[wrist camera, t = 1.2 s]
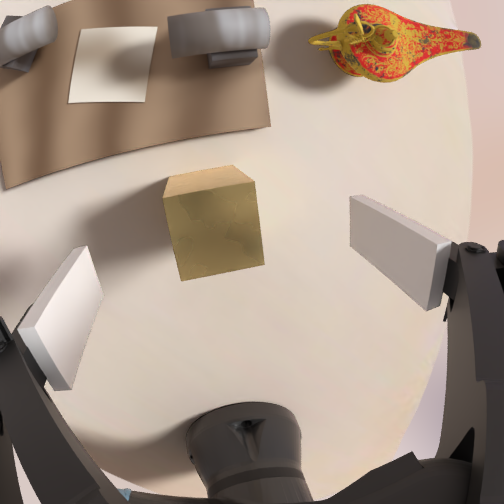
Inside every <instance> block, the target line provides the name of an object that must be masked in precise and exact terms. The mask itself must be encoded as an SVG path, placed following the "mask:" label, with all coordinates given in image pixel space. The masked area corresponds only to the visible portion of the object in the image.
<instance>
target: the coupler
mask: <svg viewBox="0 0 504 504" xmlns="http://www.w3.org/2000/svg"><path fill="white" fill-rule="evenodd" d="M162 199H163V204H164V209H165V214H166V219H167V223H168V228H169V232H170V237H171V241H172V245H173V250H174V254H175V258H176V262H177V267H178V271H179V275H180V279H181V281H186V280H191V279H196V278H201V277H206V276H211V275H216V274H221V273H226V272H231V271H236V270H241V269H246V268H251V267H255V266H260V265H265V264H264V255H263V247H262V238H261V230H260V222H259V214H258V205H257V197H256V189H255V181H253V180H252V179H251V178H249V177H248V176H247V175H245V174H244V173H243V172H241V171H240V170H239V169H237V168H236V167H235V166H233V165H230V166H224V167H218V168H212V169H206V170H201V171H195V172H190V173H185V174H180V175H175V176H170V177H169V179H168V182H167V185H166V188H165V191H164V194H163V197H162Z"/></svg>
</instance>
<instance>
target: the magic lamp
mask: <svg viewBox="0 0 504 504" xmlns="http://www.w3.org/2000/svg"><path fill="white" fill-rule="evenodd" d="M326 37H330V38H329V41H317V40H320V39H323V38H326ZM308 42H309V44H312V45H325V46H329V47H328V48H324V47H322V48H324V49H322V48H319V49H318V50H319V51H322V50H329V51H330V54H331V57H332V59H333V60H334V62H335V64H336V65H337V66H338V67H339V68H340V69H341V70H343V71H344V72H346V73H347V74H350V75H352V76H357V77H362V76H364V77H366V78H368V79H370V80H373V81H377V82H393V81H396V80H398V79H400V78H402V77H404V76H405V75H406V74H408V73H409V72H410V71H411V70H412V69H414V68H415V67H416V66H418V65H420V64H421V63H423V62H425V61H427V60H429V59H432V58H434V57H437V56H440V55H444V54H448V53H453V52H458V51H464V50H474V49H479V48H480V47H481V41H480V39H479V37H478V36H477V35H476V34H474V33H472V32H467V31H460V30H453V29H446V28H440V27H434V26H429V25H425V24H422V23H418V22H415V21H412V20H410V19H407V18H404V17H402V16H400V15H398V14H396V13H394V12H392V11H390V10H387V9H385V8H383V7H380V6H376V5H371V4H362V5H357V6H354V7H352V8H350V9H349V10H347V11H346V12H345V13H344V14H343V16H342V17H341V19H340V21H339V23H338V28H336V29H335V30H333V31H329V32H326V33H322V34H319V35H316V36H314V37H311V38H310V39H309V40H308Z"/></svg>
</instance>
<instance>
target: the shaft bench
mask: <svg viewBox="0 0 504 504" xmlns="http://www.w3.org/2000/svg"><path fill="white" fill-rule="evenodd" d="M269 41H270V21H269V16H268V13H267V11H266V9H265V8H255V7H254V1H253V0H71V1H69V2H66V3H63V4H61V5H58V6H56V7H53V8H51V7H50V6H45V7H43V8H40V9H38V10H36V11H34V12H32V13H30V14H27V15H25V16H6V18H5V20H4V22H3V24H2V26H1V28H0V162H1V167H2V172H3V177H4V181H5V186H6V189H8V188H11V187H13V186H16V185H19V184H21V183H24V182H27V181H30V180H32V179H35V178H38V177H41V176H44V175H47V174H50V173H53V172H56V171H59V170H62V169H66V168H69V167H72V166H75V165H79V164H82V163H86V162H89V161H93V160H96V159H100V158H104V157H107V156H111V155H115V154H119V153H123V152H127V151H131V150H135V149H140V148H144V147H149V146H153V145H158V144H163V143H168V142H173V141H178V140H183V139H188V138H194V137H200V136H206V135H212V134H218V133H225V132H231V131H239V130H246V129H254V128H263V127H271V123H270V115H269V107H268V99H267V91H266V84H265V76H264V69H263V61H262V54H261V49H265V48H267V47H268V45H269Z"/></svg>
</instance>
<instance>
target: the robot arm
mask: <svg viewBox="0 0 504 504" xmlns="http://www.w3.org/2000/svg"><path fill="white" fill-rule="evenodd" d="M350 246H351V247H352V248H353V249H354V250H355V251H357V252H358V253H359V254H360V255H361V256H363V257H364V258H365V259H366V260H368V261H369V262H370V263H371V264H372V265H374V266H375V267H376V268H377V269H378V270H379V271H381V272H382V273H383V274H384V275H385V276H386V277H388V278H389V279H390V280H391V281H392V282H393V283H395V284H396V285H397V286H398V287H399V288H400V289H402V290H403V291H404V292H405V293H406V294H407V295H408V296H409V297H411V298H412V299H413V300H414V301H415V302H416V303H417V304H418V305H420V306H421V307H422V308H423V309H424V310H425V311H428V310H431V309H433V308H436V307H438V306H440V304H441V299H442V295H443V292H444V293H445V294H446V295H448V296H449V299H448V303H447V308H446V312H445V316H444V319H443V321H444V322H446V319H447V320H448V356H447V357H448V358H447V381H446V394H445V405H444V415H443V423H442V431H441V438H440V444H439V448H438V451H437V454H436V456H435V458H430V459H424V460H417V458H416V456H415V455H414V453H413V452H410V453H408V454H406V455H404V456H402V457H400V458H398V459H396V460H394V461H391V462H389V463H387V464H385V465H383V466H380V467H378V468H376V469H374V470H371V471H370V472H368V473H367V474H365V475H364V476H363V477H361V478H360V479H358V480H357V481H355V482H354V483H352V484H351V485H349V486H348V487H346V488H345V489H343V490H342V491H340V492H338V493H337V494H335V495H334V496H332V497H330V498H328V499H326V500H322V501H313V498H312V496H311V493H310V491H309V488H308V486H307V483H306V481H305V478H304V476H303V473H302V470H301V430H300V427H299V425H298V422H297V420H296V418H295V416H294V414H293V413H292V412H291V411H289V410H288V409H286V408H284V407H282V406H279V405H276V404H271V403H263V402H251V403H241V404H235V405H230V406H226V407H223V408H220V409H217V410H214V411H212V412H210V413H208V414H206V415H204V416H203V417H201V418H200V419H198V420H197V421H196V422H195V423H194V424H193V425H192V426H191V427H190V428H189V430H188V432H187V435H186V443H187V452H188V456H189V458H190V460H191V462H192V463H193V464H194V465H195V468H196V470H197V472H198V474H199V476H200V478H201V480H202V482H203V484H204V485H205V487H206V490H207V494H208V498H192V497H178V496H168V495H159V494H150V493H144V492H137V491H131V489H128V488H127V489H117V488H116V487H115V486H114V485H113V484H112V483H111V482H110V480H109V479H108V478H107V477H106V476H105V474H104V473H103V472H102V471H101V470H100V468H99V467H98V466H97V465H96V463H95V462H94V461H93V459H92V458H91V457H90V455H89V454H88V453H87V452H86V450H85V449H84V447H83V446H82V445H81V443H80V442H79V441H78V439H77V438H76V436H75V435H74V433H73V432H72V430H71V429H70V428H69V426H68V425H67V423H66V421H65V420H64V418H63V417H62V415H61V414H60V412H59V411H58V409H57V407H56V406H55V404H54V402H53V401H52V399H51V397H50V396H49V394H48V392H47V391H46V390H45V388H44V385H45V382H46V380H48V382H49V383H50V385H51V386H52V388H53V389H54V391H63V390H72V387H73V383H74V380H75V376H76V373H77V370H78V367H79V364H80V360H81V357H82V354H83V351H84V348H85V345H86V342H87V339H88V337H89V334H90V331H91V328H92V325H93V323H94V320H95V317H96V314H97V312H98V309H99V307H100V304H101V301H102V299H103V296H104V293H103V290H102V288H101V285H100V282H99V279H98V276H97V274H96V271H95V268H94V265H93V262H92V259H91V256H90V253H89V250H88V246H87V245H86V246H82V247H78V248H74V249H73V250H72V251H71V253H70V254H69V255H68V256H67V258H66V259H65V260H64V262H63V263H62V264H61V266H60V267H59V268H58V270H57V271H56V272H55V274H54V275H53V277H52V278H51V279H50V281H49V282H48V284H47V285H46V286H45V288H44V289H43V291H42V292H41V293H40V295H39V296H38V298H37V299H36V301H35V302H34V303H33V304H32V305H31V306H30V307H29V308H28V309H27V311H26V312H25V314H24V316H23V317H22V318H21V320H20V322H19V323H18V325H17V326H16V328H15V329H14V331H13V333H12V334H11V333H10V331H9V329H8V327H7V325H6V324H5V322H4V320H3V318H2V317H1V316H0V504H23V500H22V496H21V492H20V487H19V483H18V477H17V472H16V467H15V461H14V455H13V447H12V444H13V446H14V449H15V451H16V453H17V456H18V458H19V460H20V462H21V465H22V467H23V469H24V471H25V473H26V475H27V477H28V479H29V482H30V484H31V485H32V487H33V489H34V491H35V493H36V495H37V497H38V499H39V500H40V502H41V504H504V240H502V241H500V242H499V243H498V249H497V252H495V253H494V252H493V253H489V251H488V250H487V249H486V248H485V247H484V246H482V245H480V244H477V243H474V242H464V243H461V244H459V245H458V244H456V243H454V242H452V241H451V240H449V239H448V238H446V237H444V236H442V235H440V234H439V233H437V232H435V231H433V230H431V229H430V228H428V227H426V226H424V225H422V224H420V223H418V222H416V221H415V220H413V219H411V218H409V217H407V216H405V215H403V214H401V213H399V212H397V211H395V210H393V209H391V208H389V207H387V206H385V205H383V204H381V203H379V202H377V201H375V200H373V199H371V198H368V197H366V196H364V195H356V196H350Z"/></svg>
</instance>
